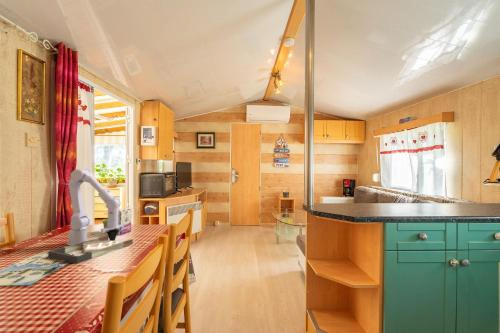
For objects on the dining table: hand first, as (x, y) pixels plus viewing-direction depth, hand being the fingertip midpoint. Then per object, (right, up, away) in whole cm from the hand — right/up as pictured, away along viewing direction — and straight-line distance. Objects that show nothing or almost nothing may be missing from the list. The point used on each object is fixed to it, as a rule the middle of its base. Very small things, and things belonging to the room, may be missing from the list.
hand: (112, 242), depth 156 cm
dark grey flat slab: (-9, -1, -23) cm, 25 cm away
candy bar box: (-6, -2, +26) cm, 27 cm away
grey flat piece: (-3, -1, -7) cm, 8 cm away
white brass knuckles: (-3, -2, -8) cm, 8 cm away
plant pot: (-17, -1, +28) cm, 32 cm away
